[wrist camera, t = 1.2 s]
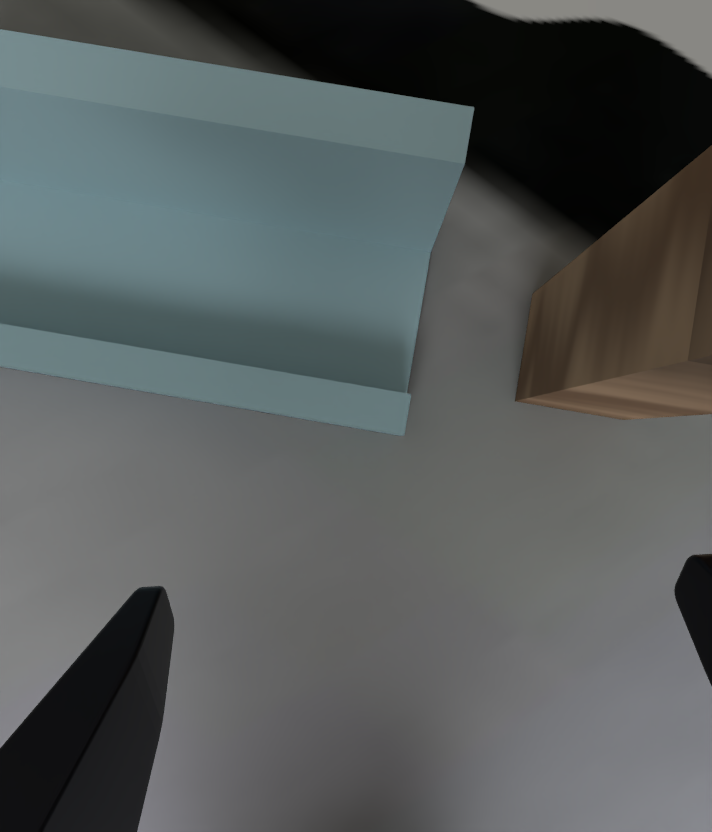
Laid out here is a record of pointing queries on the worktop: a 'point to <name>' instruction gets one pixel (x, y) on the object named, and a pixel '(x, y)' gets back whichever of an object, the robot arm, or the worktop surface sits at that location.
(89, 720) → the robot arm
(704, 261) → the walnut box
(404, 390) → the backboard channel
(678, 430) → the worktop surface
